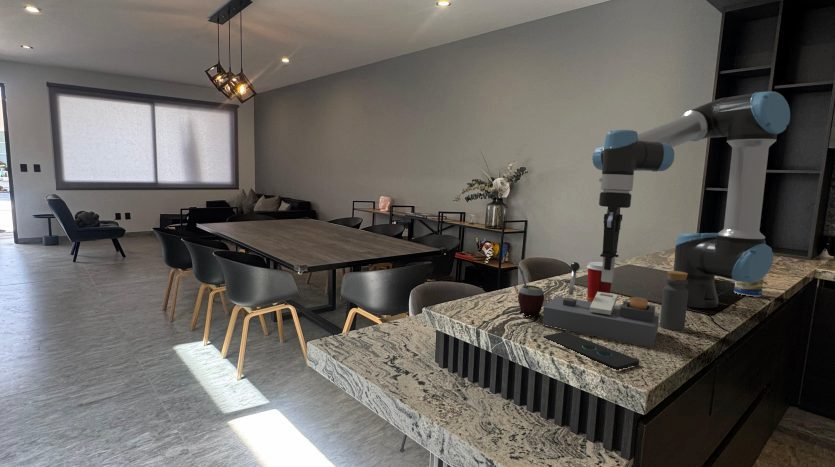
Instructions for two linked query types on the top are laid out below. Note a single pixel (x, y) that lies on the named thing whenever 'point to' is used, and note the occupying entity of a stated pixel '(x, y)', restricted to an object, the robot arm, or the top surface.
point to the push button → (638, 303)
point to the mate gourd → (530, 298)
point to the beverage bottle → (749, 288)
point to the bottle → (674, 301)
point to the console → (604, 321)
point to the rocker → (603, 303)
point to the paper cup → (596, 281)
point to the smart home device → (593, 350)
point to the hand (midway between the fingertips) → (606, 281)
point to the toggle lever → (573, 276)
